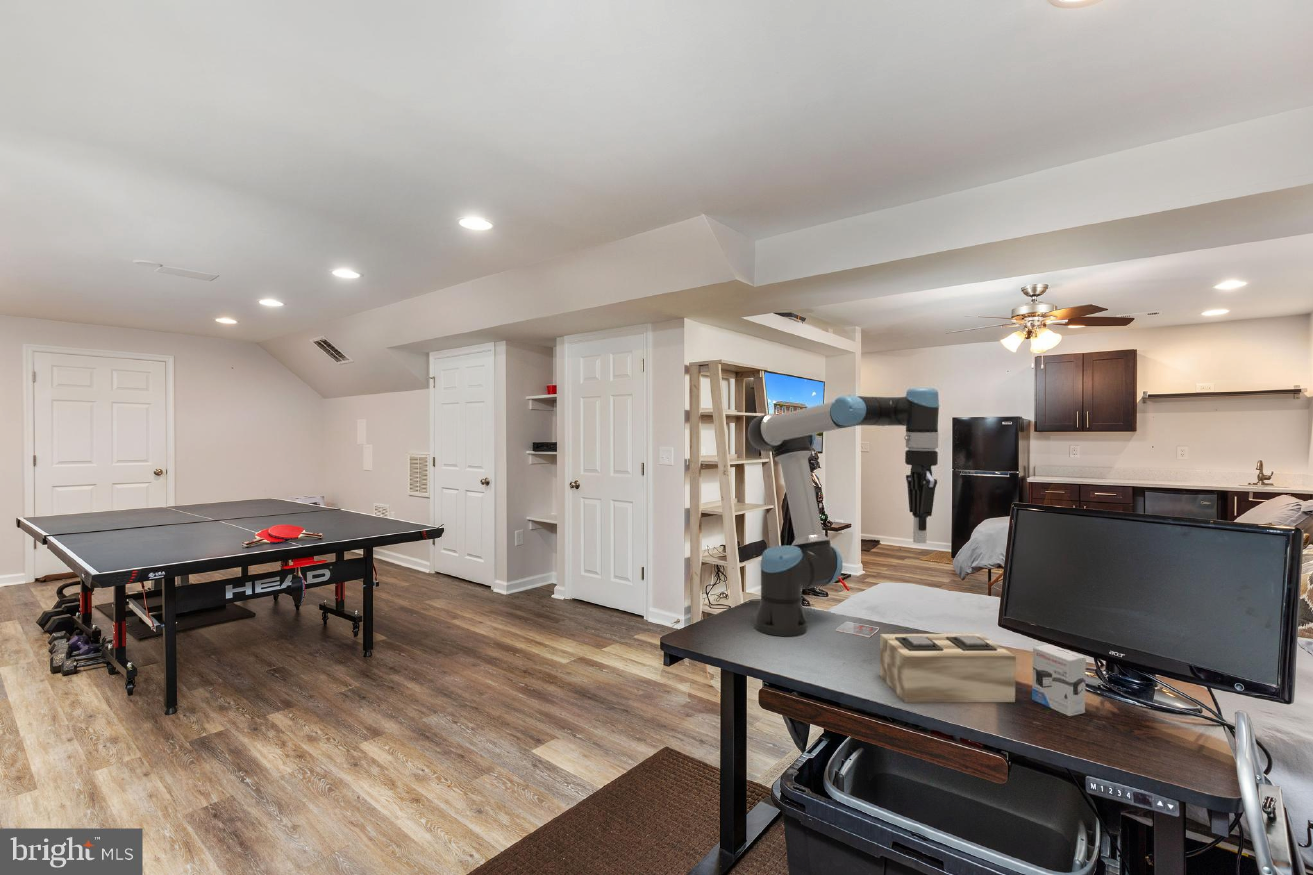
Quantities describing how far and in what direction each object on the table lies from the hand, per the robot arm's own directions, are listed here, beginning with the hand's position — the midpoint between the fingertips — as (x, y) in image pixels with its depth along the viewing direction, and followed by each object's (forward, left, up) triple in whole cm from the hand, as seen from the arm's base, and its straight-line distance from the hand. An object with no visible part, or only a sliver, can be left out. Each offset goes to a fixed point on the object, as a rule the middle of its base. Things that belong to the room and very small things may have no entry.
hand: (919, 542), depth 153 cm
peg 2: (+16, +5, -28) cm, 33 cm away
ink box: (+25, +19, -30) cm, 44 cm away
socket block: (+16, -1, -30) cm, 34 cm away
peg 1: (+16, -7, -28) cm, 33 cm away
